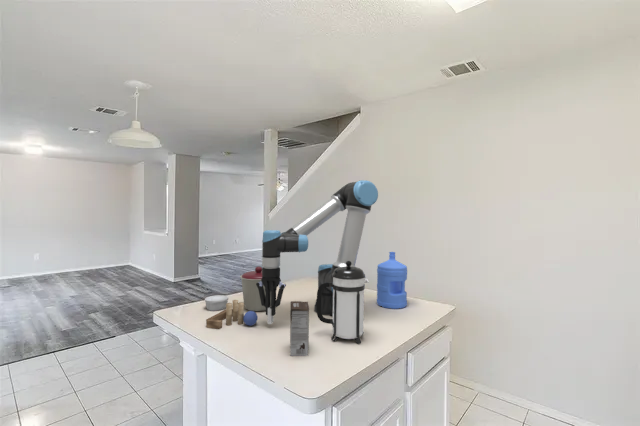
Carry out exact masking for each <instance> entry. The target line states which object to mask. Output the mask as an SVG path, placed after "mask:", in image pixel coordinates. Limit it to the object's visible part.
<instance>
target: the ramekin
mask: <svg viewBox="0 0 640 426" xmlns="http://www.w3.org/2000/svg"><path fill="white" fill-rule="evenodd" d="M228 301H229V296H228V295H222V294H215V295H211V296H207V297H205V298H204V302H205V308H206V310H208V311H212V312H217V311H218V312H219V311H224V310H226V304H227V303H229V302H228Z"/></svg>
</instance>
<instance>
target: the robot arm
mask: <svg viewBox="0 0 640 426" xmlns="http://www.w3.org/2000/svg"><path fill="white" fill-rule="evenodd" d="M378 198H379V191H378V188H377V186H376V184H374V183H373V182H372V181H370V180H364V179H362V180H359V181H353V182H348V183H347V184H345V185H344V186H342V187H341V188H340V189H338V190H336V192H334V193H333V194H331V196H330V199H328V200H327V201H326V202H324V203H323V204H322V205H320V206H319V207H317V208H316V209H315V210H313V211H312V212H310V213H309V214H308V215H306V216H305V217H303V219H301V220H300V221H299V222H297V223H296V224H294V225H293V226H292V227H290V228H289V229H288V230H286V231H284V232H281V230H278V229H268V230H267V229H266V230H264V231H263V232H262V241H261V243H262V246H261V248H262V255H261V256H262V257H261V258H262V259H261V261H262V263H261V266H262V267H261V268H262V279H261V281H260V282H258V283H256V285H257V287H258V290H259V295H260V300H261V305H262V306H265V307H266V310H265V316H267V322H266V323H267V324H268V325H272V324H273V323H274V317H275V315H276V309H277V308H278V307H279V306H280V305H281V301H282V298H283V293H284V289H286V286H287V284H286V283H283V282H282V280H281V267H280V266H281V253H303V252H307V250H308V248H309V237H308V236H309V235H310V234H311V233H312V232H314V231H315V230H316V229H318V228H319V227H321V226H322V225H323V224H324V223H326V222H328V220H330V219H331V218H333V217H334V216H335V215H337V214H338V213H339V212H344V211H345V210H347V213H346V219H345V223H344V227H343V231H342V237H341V240H340V244H339V245H340V247H339V250H338V254H337V258H336V261H335V262H333V263H328V264H327V263H325V264H319V266H318V270H317V289H318V288H319V286H320V285H321V284H323V283H326V282H329V283H333V276H332V273H333V272H334V270H335V269H336V268H338V267H344V266H347V265H346V262H347V261H351V263H352V264H351V267H356V262H357V259H358V253H359V249H360V244H361V240H362V235H363V230H364V227H365V222H366V217H367V215H368V214H369V213H371V209H372V206H373V205H375V204H376V203H377V202H378ZM263 285H264V287H265V292H266V295H265V293H264V288H263ZM278 288H279V289H278ZM277 289H278V293H277ZM270 298H271V304H270ZM314 312H315V313H316V314H317V298H316V300H315V302H314ZM321 313H322V315H323V316H324V315H325V316H333V288H332V287H325V288H323V290H322V297H321Z"/></svg>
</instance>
